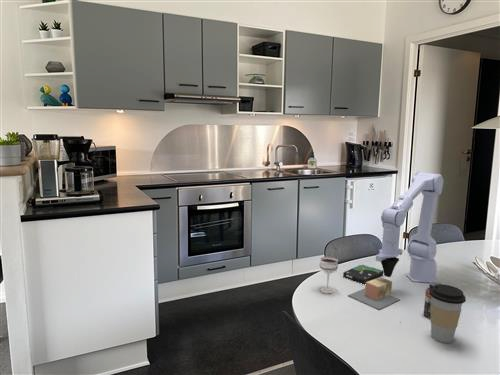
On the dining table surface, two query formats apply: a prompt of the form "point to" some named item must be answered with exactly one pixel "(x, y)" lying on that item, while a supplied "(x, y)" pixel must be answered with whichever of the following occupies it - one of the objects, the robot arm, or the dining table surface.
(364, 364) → the dining table surface
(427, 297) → the supplement bottle
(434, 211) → the robot arm
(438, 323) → the coffee cup
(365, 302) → the mat
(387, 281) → the maple block
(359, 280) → the disk drive
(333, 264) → the wineglass
